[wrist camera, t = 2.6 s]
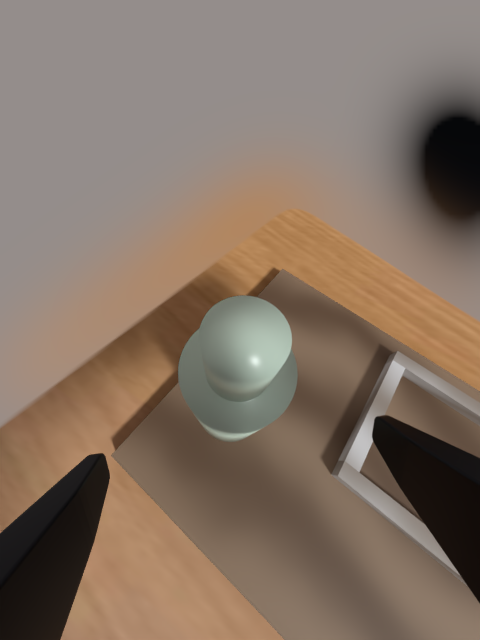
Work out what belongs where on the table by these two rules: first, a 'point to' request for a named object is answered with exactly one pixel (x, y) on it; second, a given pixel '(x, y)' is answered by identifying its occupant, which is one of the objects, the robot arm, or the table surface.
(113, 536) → the table surface
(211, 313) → the bottle
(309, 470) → the board
